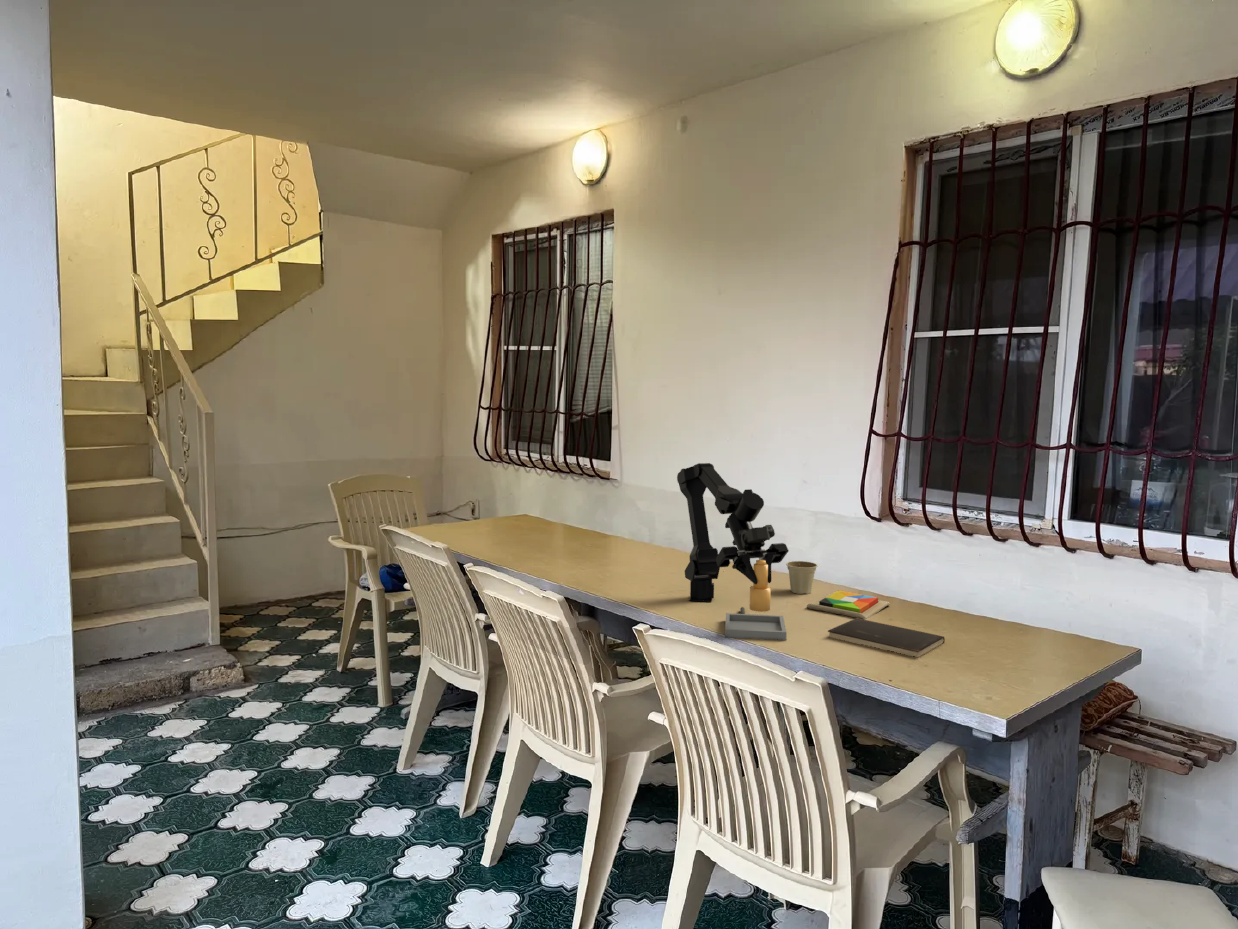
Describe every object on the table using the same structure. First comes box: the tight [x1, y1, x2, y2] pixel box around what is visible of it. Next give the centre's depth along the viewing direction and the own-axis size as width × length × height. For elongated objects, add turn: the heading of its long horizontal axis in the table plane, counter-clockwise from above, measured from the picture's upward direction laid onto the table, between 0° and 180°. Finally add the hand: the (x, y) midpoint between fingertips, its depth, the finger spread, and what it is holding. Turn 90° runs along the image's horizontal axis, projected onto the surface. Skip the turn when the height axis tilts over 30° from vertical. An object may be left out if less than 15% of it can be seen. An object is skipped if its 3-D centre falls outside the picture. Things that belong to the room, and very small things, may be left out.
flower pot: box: [785, 560, 819, 595], centre depth 249 cm, size 9×9×9 cm
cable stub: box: [739, 606, 746, 614], centre depth 222 cm, size 1×10×1 cm, turn 172°
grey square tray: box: [724, 612, 787, 641], centre depth 209 cm, size 15×15×2 cm
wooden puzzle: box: [806, 590, 891, 620], centre depth 232 cm, size 18×19×4 cm
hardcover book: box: [827, 617, 946, 658], centre depth 201 cm, size 16×23×2 cm
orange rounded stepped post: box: [749, 559, 772, 613], centre depth 207 cm, size 5×5×12 cm
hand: (763, 582), depth 205 cm, fingers closed on orange rounded stepped post, 4 cm apart
